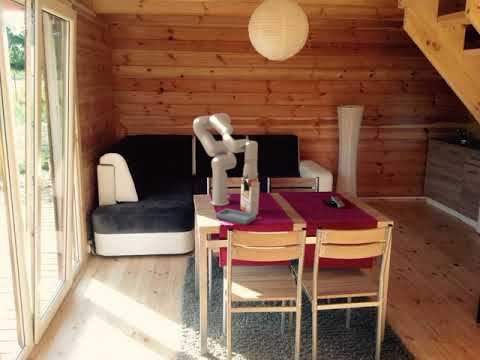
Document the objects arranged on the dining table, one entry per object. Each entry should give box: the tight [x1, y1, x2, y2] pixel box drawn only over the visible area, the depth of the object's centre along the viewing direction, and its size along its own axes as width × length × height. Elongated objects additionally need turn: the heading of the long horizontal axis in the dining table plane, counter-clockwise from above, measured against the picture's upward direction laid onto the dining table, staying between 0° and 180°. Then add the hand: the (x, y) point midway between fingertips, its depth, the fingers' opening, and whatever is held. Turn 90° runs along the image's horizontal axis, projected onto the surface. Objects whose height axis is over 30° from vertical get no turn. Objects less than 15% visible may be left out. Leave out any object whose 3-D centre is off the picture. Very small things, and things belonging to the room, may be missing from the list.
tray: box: [215, 208, 257, 226], centre depth 269 cm, size 12×21×3 cm, turn 59°
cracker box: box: [239, 177, 261, 216], centre depth 280 cm, size 14×6×21 cm, turn 26°
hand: (250, 189), depth 278 cm, fingers open, 9 cm apart
